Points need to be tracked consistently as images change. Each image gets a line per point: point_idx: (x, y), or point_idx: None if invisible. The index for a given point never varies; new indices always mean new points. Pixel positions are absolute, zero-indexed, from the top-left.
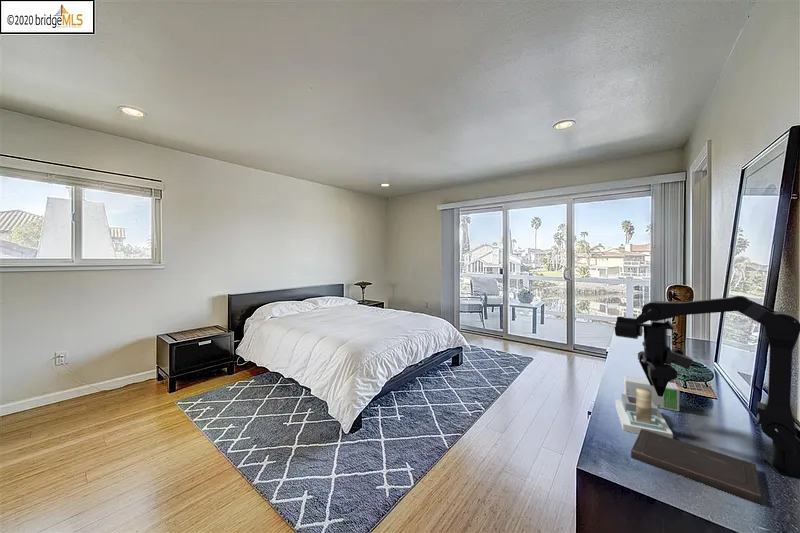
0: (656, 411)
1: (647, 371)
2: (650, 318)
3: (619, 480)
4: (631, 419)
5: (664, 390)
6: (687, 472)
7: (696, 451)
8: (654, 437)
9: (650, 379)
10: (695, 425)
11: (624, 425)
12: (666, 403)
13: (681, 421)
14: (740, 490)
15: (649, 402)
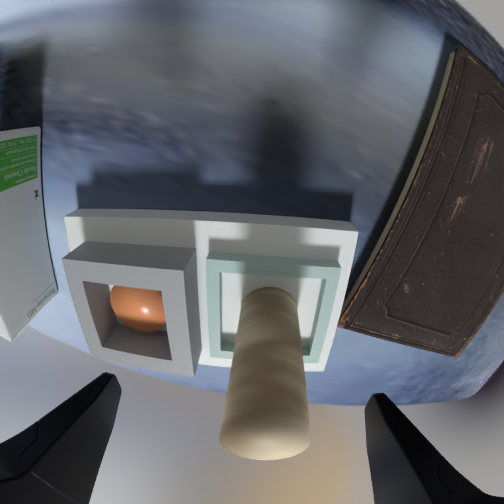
0: (187, 264)
1: (80, 488)
2: None
3: (498, 360)
4: None
5: (419, 434)
6: None
7: (455, 194)
8: (393, 300)
9: (101, 430)
10: (137, 83)
11: (324, 365)
12: (25, 172)
13: (121, 129)
14: None
15: (300, 376)
